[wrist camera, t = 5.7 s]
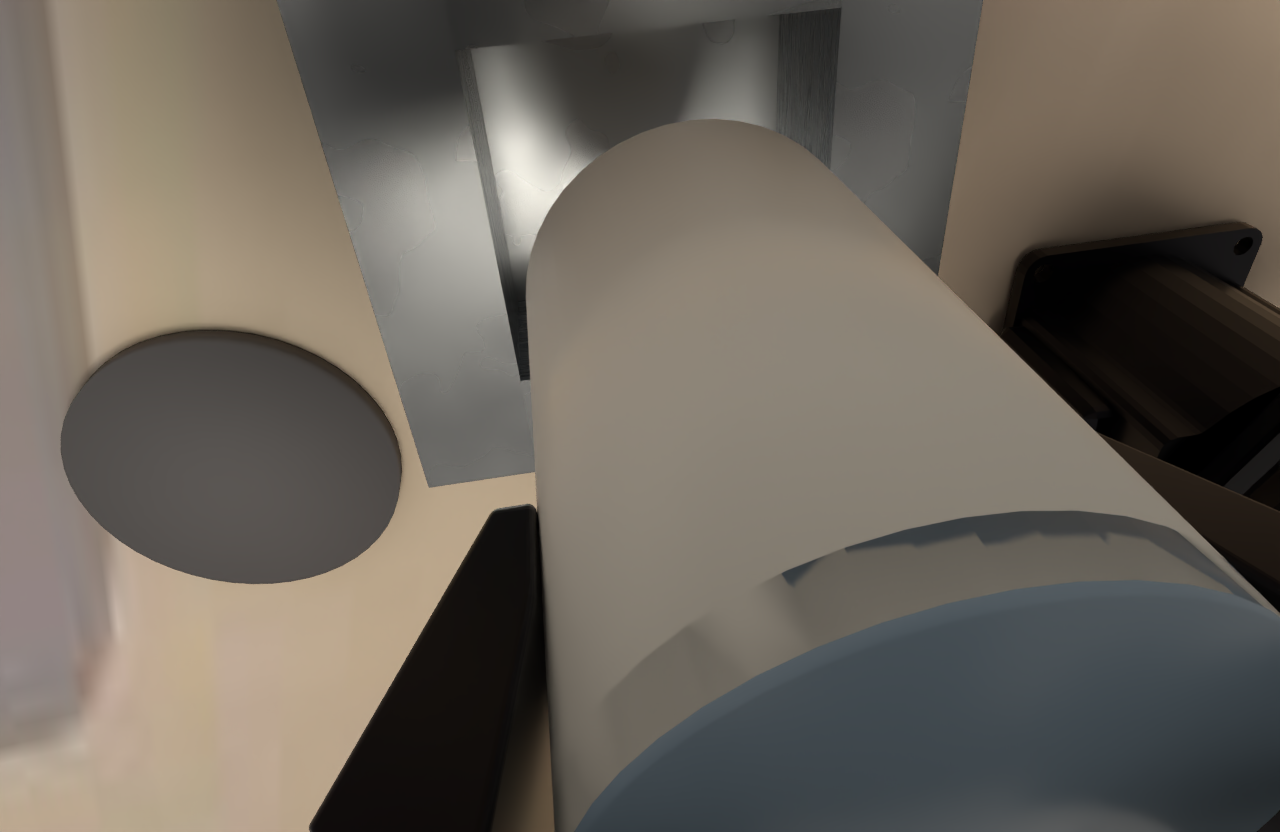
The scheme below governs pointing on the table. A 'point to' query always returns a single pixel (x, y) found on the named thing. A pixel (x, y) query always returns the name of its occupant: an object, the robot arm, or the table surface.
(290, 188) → the table surface
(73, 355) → the table surface
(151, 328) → the table surface
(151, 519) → the mat
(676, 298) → the white cylinder
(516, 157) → the housing
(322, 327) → the table surface
